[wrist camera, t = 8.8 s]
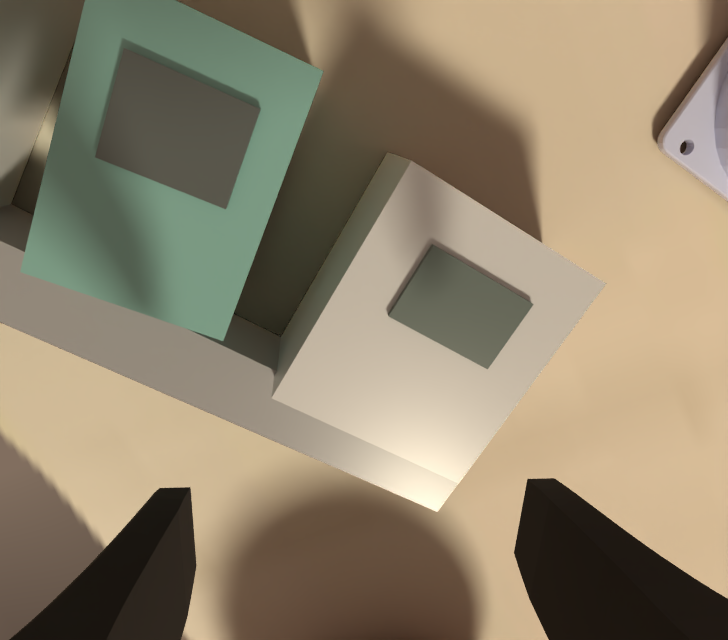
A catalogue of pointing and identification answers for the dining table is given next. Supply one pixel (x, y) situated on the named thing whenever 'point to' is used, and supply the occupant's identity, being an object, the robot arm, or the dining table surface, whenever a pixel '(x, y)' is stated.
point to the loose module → (166, 161)
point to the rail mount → (320, 310)
